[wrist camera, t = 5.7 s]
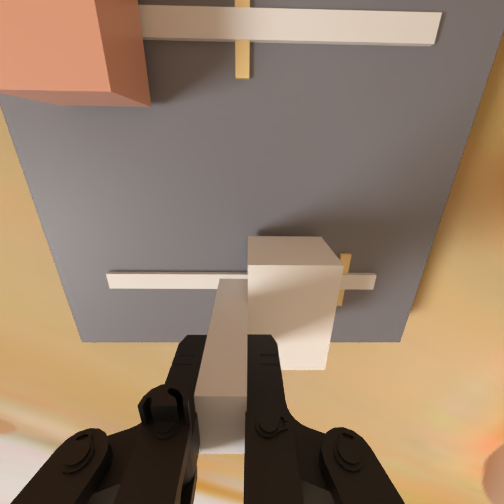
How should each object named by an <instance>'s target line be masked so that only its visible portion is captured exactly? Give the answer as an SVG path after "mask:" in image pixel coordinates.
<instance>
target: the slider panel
mask: <svg viewBox="0 0 504 504" xmlns="http://www.w3.org/2000/svg"><path fill="white" fill-rule="evenodd" d="M138 7H139V15H140V22H141V30H142V37H143V45H144V53H145V60H146V68H147V76H148V83H149V91H150V99H151V106H152V107H114V106H60V105H55V104H50V103H45V102H40V101H35V100H30V99H25V98H20V97H15V96H11V95H6V94H1V93H0V106H1V109H2V112H3V115H4V118H5V121H6V124H7V126H8V129H9V132H10V135H11V138H12V141H13V144H14V147H15V150H16V153H17V155H18V158H19V161H20V164H21V167H22V170H23V173H24V176H25V179H26V181H27V184H28V187H29V190H30V193H31V196H32V199H33V202H34V205H35V208H36V210H37V213H38V216H39V219H40V222H41V225H42V228H43V231H44V234H45V237H46V239H47V242H48V245H49V248H50V251H51V254H52V257H53V260H54V263H55V265H56V268H57V271H58V274H59V277H60V280H61V283H62V286H63V289H64V292H65V294H66V297H67V300H68V303H69V306H70V309H71V312H72V315H73V318H74V320H75V323H76V326H77V329H78V332H79V335H80V338H81V341H82V342H181V341H182V340H183V339H184V338H185V337H186V336H187V335H207V334H208V330H209V325H210V321H211V316H212V311H213V307H214V302H215V298H216V293H217V289H218V284H219V280H220V279H248V236H314V237H322V238H323V240H324V241H325V242H326V243H327V245H328V246H329V247H330V248H331V250H332V251H333V252H334V254H335V255H336V256H337V257H338V259H339V260H340V261H341V262H342V264H343V265H344V269H343V274H342V280H341V285H340V290H339V296H338V301H337V307H336V312H335V317H334V323H333V328H332V334H331V339H330V342H400V340H401V337H402V334H403V331H404V328H405V325H406V322H407V319H408V316H409V313H410V310H411V307H412V304H413V301H414V298H415V295H416V292H417V289H418V286H419V283H420V280H421V277H422V274H423V271H424V268H425V265H426V262H427V259H428V256H429V253H430V250H431V247H432V244H433V241H434V238H435V236H436V233H437V230H438V227H439V224H440V221H441V218H442V215H443V212H444V209H445V206H446V203H447V200H448V197H449V194H450V191H451V188H452V185H453V182H454V179H455V176H456V173H457V170H458V167H459V164H460V161H461V158H462V155H463V152H464V149H465V146H466V143H467V140H468V137H469V134H470V131H471V128H472V125H473V122H474V119H475V116H476V113H477V110H478V107H479V104H480V101H481V98H482V95H483V92H484V89H485V86H486V83H487V80H488V77H489V74H490V71H491V68H492V65H493V62H494V59H495V56H496V53H497V50H498V47H499V44H500V41H501V38H502V35H503V32H504V0H138Z"/></svg>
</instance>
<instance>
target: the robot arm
mask: <svg viewBox="0 0 504 504" xmlns="http://www.w3.org/2000/svg"><path fill="white" fill-rule="evenodd" d="M247 330H248V279H220V280H219V284H218V289H217V293H216V298H215V302H214V307H213V311H212V316H211V321H210V325H209V330H208V334H207V335H187V336H186V337H185V338H184V339H183V340H182V341H181V342H180V343H179V345H178V348H177V351H176V354H175V357H174V360H173V362H172V366H171V368H170V371H169V374H168V377H167V379H166V382H165V384H164V385H160V386H158V387H156V388H154V389H151V390H150V391H149V392H148V393H147V394H146V395H145V396H143V398H142V399H141V401H140V403H139V404H138V409H139V413H140V417H141V421H142V422H141V423H140V424H138V425H137V426H134V427H132V428H130V429H127V430H124V431H121V432H118V433H115V434H112V435H109V436H107V435H106V433H105V432H103V431H102V430H100V429H95V428H89V429H86V430H83V431H80V432H78V433H76V434H75V435H73V436H71V437H70V438H68V439H67V440H66V441H65V442H64V443H63V444H62V445H61V446H59V447H58V448H57V449H56V451H55V452H54V453H53V454H52V455H51V457H50V458H49V459H48V460H47V461H46V462H45V464H44V465H43V466H42V467H41V468H40V469H39V471H38V472H37V473H36V474H35V475H34V477H33V478H32V479H31V480H30V481H29V482H28V484H27V485H26V486H25V487H24V488H23V489H22V491H21V492H20V493H19V494H18V495H17V497H16V498H15V499H14V500H13V501H12V502H11V504H193V502H194V495H195V489H196V482H197V459H198V453H199V447H200V454H245V458H244V504H405V503H404V501H403V500H402V498H401V496H400V495H399V493H398V492H397V490H396V488H395V487H394V485H393V483H392V482H391V480H390V479H389V477H388V475H387V474H386V472H385V470H384V469H383V467H382V465H381V464H380V462H379V461H378V459H377V457H376V456H375V454H374V452H373V451H372V449H371V448H370V446H369V445H368V444H367V443H366V441H365V440H364V439H363V438H362V437H361V436H360V435H358V434H357V433H355V432H354V431H352V430H349V429H346V428H344V427H340V428H333V429H331V430H329V431H328V432H326V434H325V433H322V432H319V431H316V430H313V429H310V428H308V427H306V426H304V425H302V424H300V423H299V422H298V421H297V420H295V419H294V417H293V416H292V415H291V414H290V412H289V410H288V408H287V405H286V401H285V394H284V387H283V380H282V373H281V366H280V359H279V352H278V345H277V342H276V341H275V340H274V338H273V337H272V335H271V334H247Z"/></svg>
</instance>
